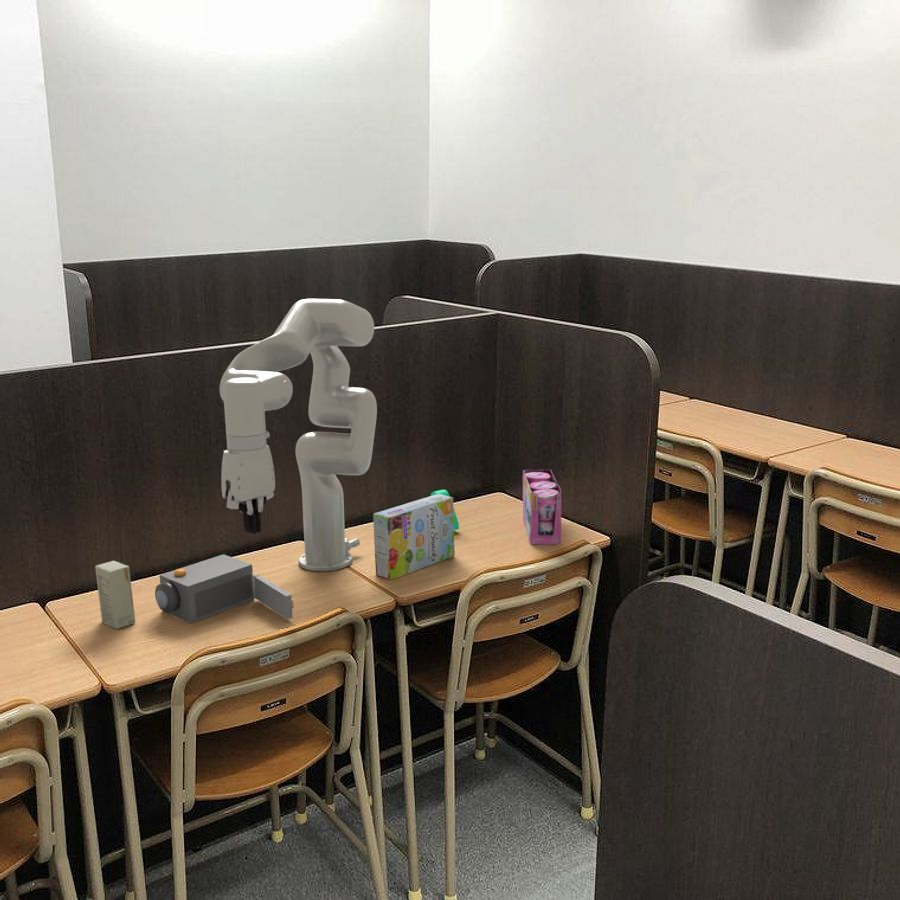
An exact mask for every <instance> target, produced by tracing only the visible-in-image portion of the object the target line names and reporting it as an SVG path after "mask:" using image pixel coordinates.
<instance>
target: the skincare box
mask: <svg viewBox="0 0 900 900" xmlns="http://www.w3.org/2000/svg"><path fill="white" fill-rule="evenodd" d="M94 566H95V567H94V568H95V576H96V584H97V585H96V586H97V593H98V601H99V608H100V615H101V616H100V617H101V622H102V623H103V624H106V625H107V626H110V627H112V628H113V629H116V630H118V629H121V628H124V627H126V626H130V625H133V624H135V623H136V615H135V607H134V599H133V591H132V588H133V587H132V581H131V572H130V571H131V570H130V566H129V565H127V564H124V563H121V562H119V561H116V560H110V561H107V562H104V563H100V564H97V565H94Z"/></svg>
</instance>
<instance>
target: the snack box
mask: <svg viewBox="0 0 900 900" xmlns="http://www.w3.org/2000/svg"><path fill="white" fill-rule="evenodd" d="M449 496H450V495H449ZM449 496H445V495H442V494H436V495H433V496H431V495H430V496H427V497H423V498H420V499H417V500H413V501H411V502H407V503H404V504H402V505H401V504H400V505H398V506H397V505H396V506H394V507H391V508H387V509H384V510H381V511H377V512H374V513H372V518H373V519H372V520H373V522H372V523H373V539H374V540H373V543H374V563H375V565H374V566H375V575H376V576H378V577H381V578H383V577H384V579H387V580H389V579H390V581H391V579H392V580H394V578H395V579H397V578H400V577H402V576H405V575H408V574H410V573H413V572H417V571H418V570H421V569H423V568H424V569H425V568H426V567H429V565H430V566H433V565H435V564H437V563H440V562H442V561H446V560H448V559H450V558H453V557H455V555H456V552H455V551H456V550H455V548H456V547H455V530H454V512H453V508H454V497H453V496H450V497H449Z"/></svg>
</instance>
